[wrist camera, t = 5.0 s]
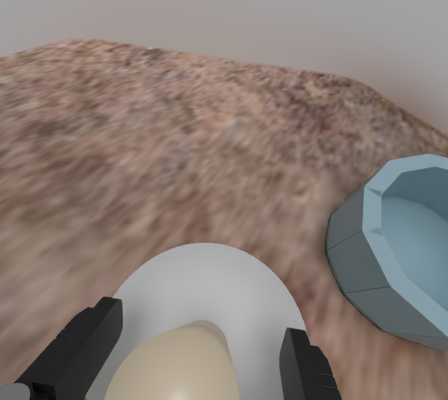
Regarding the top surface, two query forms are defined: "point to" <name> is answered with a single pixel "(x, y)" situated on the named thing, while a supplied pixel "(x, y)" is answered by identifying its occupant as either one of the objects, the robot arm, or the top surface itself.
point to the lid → (199, 329)
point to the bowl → (397, 249)
